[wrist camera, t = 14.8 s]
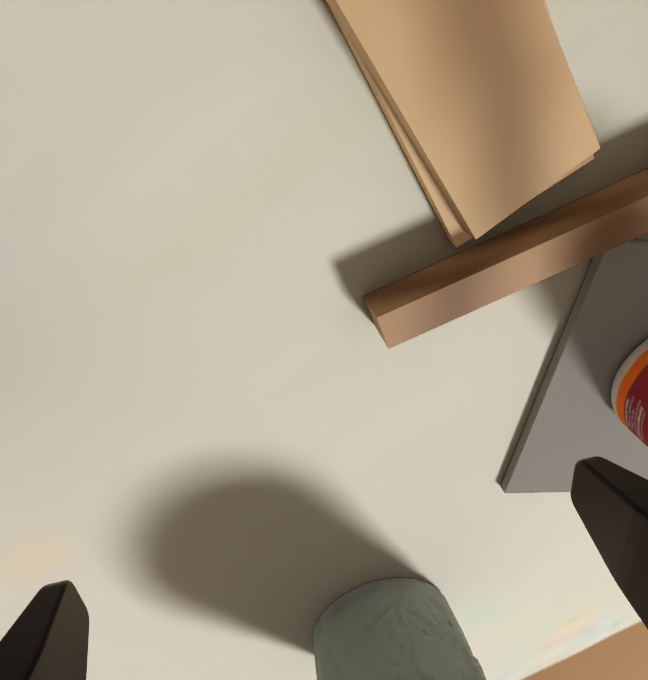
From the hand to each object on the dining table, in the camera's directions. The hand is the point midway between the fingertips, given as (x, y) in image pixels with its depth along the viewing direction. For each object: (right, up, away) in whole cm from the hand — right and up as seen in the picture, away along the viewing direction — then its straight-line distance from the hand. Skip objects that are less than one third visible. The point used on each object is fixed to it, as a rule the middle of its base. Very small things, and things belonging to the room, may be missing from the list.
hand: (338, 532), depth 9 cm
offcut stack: (+4, +13, +9) cm, 17 cm away
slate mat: (+17, +1, +18) cm, 25 cm away
